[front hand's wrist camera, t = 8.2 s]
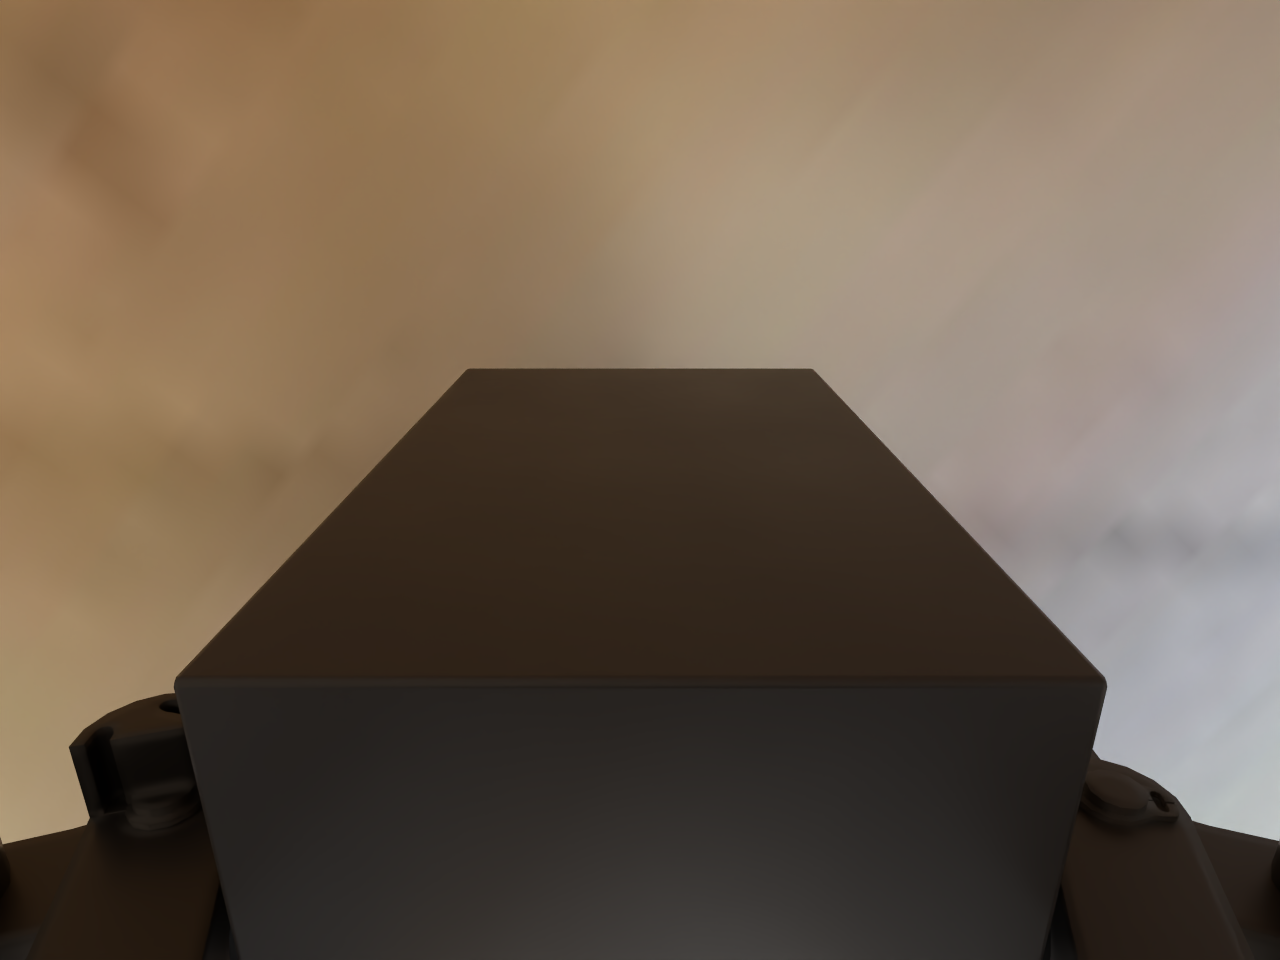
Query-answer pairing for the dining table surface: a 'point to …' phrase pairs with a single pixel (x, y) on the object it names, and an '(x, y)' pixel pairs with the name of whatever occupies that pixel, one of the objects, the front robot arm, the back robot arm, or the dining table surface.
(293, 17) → the dining table surface
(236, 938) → the bar
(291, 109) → the dining table surface
